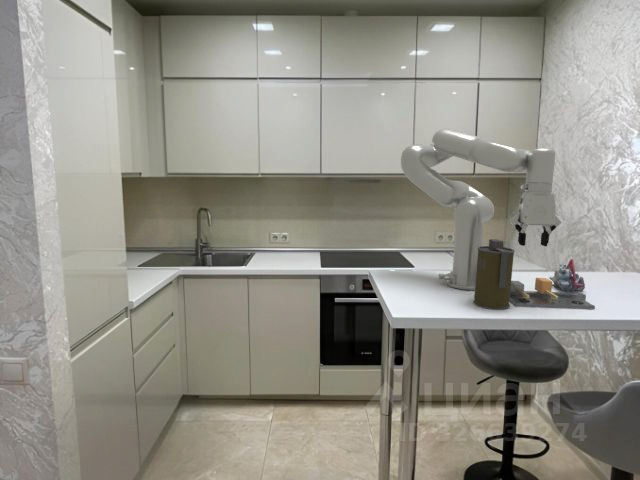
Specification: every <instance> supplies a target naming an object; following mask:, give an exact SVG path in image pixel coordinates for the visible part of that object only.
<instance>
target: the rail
mask: <svg viewBox="0 0 640 480" xmlns="http://www.w3.org/2000/svg"><path fill="white" fill-rule="evenodd" d="M524 292H525V293H527V294H528V295H530V298H534V299H551V296H550V295H548V294H541V293H540V292H538V291H536V290H524ZM551 293H553V294H555V295H557V296H558V297H559V298H558V299H562V300H584V301H586V299H587V295H586V294H585V293H583V292H566V291H551ZM510 298H523V295H522V294H514V293H513V292H511V291H510Z"/></svg>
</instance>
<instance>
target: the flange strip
mask: <svg viewBox="0 0 640 480" xmlns="http://www.w3.org/2000/svg"><path fill="white" fill-rule="evenodd" d="M509 303H511V304H513V306H516V307H518V308H519V307H521V308H522V307H523V308H545V309H546V308H550V309H551V308H552V309H572V310H573V309H578V310H581V309H582V310H595V309H596V306H595V305H594V304H592V303H590V302H588V301H586V300H585V301H584V300H562V299H555V301H551V299H534V298H526V300H523V298H510V300H509Z"/></svg>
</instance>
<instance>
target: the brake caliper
mask: <svg viewBox="0 0 640 480" xmlns="http://www.w3.org/2000/svg"><path fill="white" fill-rule="evenodd" d="M548 278H549V280H550V281H552V287H555V288H559V289H560V290H561V291H562V292H571V293H583V291H584V290H585V288H586V284H585V280H584V277H583V276H580V275H579V273H578V272H577V273H576V269H575V261H574V258H571V259H570V260H569V262H568V264H565V263H564V264H559V268H558V269H557V268H556V269H555V271H554V276H553V275H551V276H549V277H548Z"/></svg>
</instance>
